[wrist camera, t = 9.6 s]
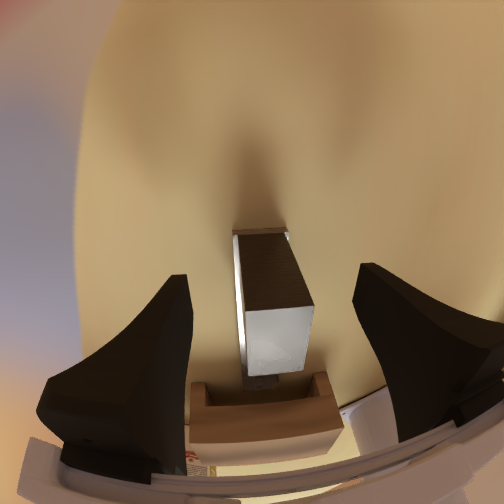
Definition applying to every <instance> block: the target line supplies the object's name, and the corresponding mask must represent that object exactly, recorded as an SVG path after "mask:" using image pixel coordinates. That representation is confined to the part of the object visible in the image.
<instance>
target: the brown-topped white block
mask: <svg viewBox="0 0 504 504" xmlns="http://www.w3.org/2000/svg"><path fill="white" fill-rule="evenodd" d="M232 231H233V249H234V266H235V282H236V298H237V313H238V327H239V341H240V354H241V367H242V380H243V391H251V390H263V389H273V388H278V378H279V373H287V372H295V371H303V368H304V363H305V358H306V353H307V348H308V342H309V336H310V331H311V325H312V319H313V313H314V306H315V305H314V303H313V300H312V298H311V295H310V293H309V290H308V288H307V286H306V283H305V281H304V278H303V276H302V273H301V271H300V269H299V266H298V264H297V261H296V259H295V257H294V254H293V252H292V250H291V247H290V245H289V243H288V238H289V232H288V230H287V227H282V228H262V229H243V230H232Z"/></svg>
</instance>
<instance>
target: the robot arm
mask: <svg viewBox="0 0 504 504" xmlns="http://www.w3.org/2000/svg"><path fill="white" fill-rule="evenodd" d="M352 302H353V305H354V308H355V312H356V314H357V317H358V320H359V322H360V324H361V326H362V328H363V330H364V332H365V334H366V336H367V338H368V340H369V342H370V344H371V346H372V348H373V350H374V352H375V354H376V356H377V358H378V360H379V363H380V365H381V367H382V370H383V373H384V376H385V380H386V383H387V386H386V387H384V388H383V389H381V390H379V391H377V392H375V393H373V394H371V395H369V396H367V397H365V398H363V399H361V400H359V401H357V402H355V403H353V404H350V405H348V406H346V407H344V408H341V409H340V410H339V412H340V415H341V416H342V417H343V418H344V419H345V420H346V421H347V422H348V423H349V424H350V425H351V427H352V430H353V433H354V436H355V439H356V443H357V446H358V449H359V452H360V456H359V457H355V458H352V459H348V460H344V461H340V462H336V463H331V464H327V465H322V466H317V467H312V468H307V469H301V470H294V471H287V472H280V473H271V474H261V475H248V476H224V477H204V476H188V475H187V464H186V450H185V421H184V404H185V382H186V374H187V368H188V361H189V355H190V349H191V342H192V336H193V308H192V303H191V297H190V292H189V286H188V280H187V274H181V275H171V276H170V277H169V279H168V280H167V281H166V282H165V283H164V285H163V286H162V287H161V289H160V290H159V291H158V292H157V294H156V295H155V296H154V297H153V298H152V300H151V301H150V302H149V303H148V304H147V306H146V307H145V308H144V309H143V310H142V311H141V312H140V313H139V314H138V316H137V317H136V318H135V319H134V320H133V321H132V322H131V323H130V324H129V325H128V326H127V327H126V328H125V329H124V330H123V331H121V332H120V333H119V334H118V335H117V336H116V337H115V338H113V339H112V340H111V341H109V342H108V343H107V344H106V345H104V346H103V347H102V348H100V349H99V350H98V351H96V352H95V353H93V354H92V355H90V356H89V357H87V358H86V359H84V360H83V361H81V362H80V363H78V364H76V365H74V366H73V367H71V368H69V369H67V370H65V371H63V372H61V373H59V374H57V375H55V376H53V377H51V378H49V379H48V381H47V383H46V386H45V388H44V390H43V393H42V395H41V398H40V401H39V403H38V406H37V409H36V413H37V415H38V417H39V419H40V420H41V422H43V424H44V425H45V426H46V427H47V428H49V429H50V430H51V431H52V432H53V433H54V434H55V435H56V436H58V437H59V438H60V439H61V440H62V441H64V444H63V448H62V449H61V448H60V447H57V446H56V445H53V444H50V443H48V442H45V441H42V440H39V439H36V438H34V437H30V439H29V443H28V446H27V450H26V453H25V457H24V461H23V465H22V469H21V474H20V478H19V483H18V488H17V493H18V495H20V496H22V497H23V498H26V499H27V500H29V501H31V502H33V503H35V504H241V501H240V500H238V499H223V498H250V497H263V496H273V495H281V494H288V493H295V492H301V491H307V490H312V489H317V488H322V487H327V486H331V485H335V484H339V483H343V482H347V481H350V480H354V479H358V478H361V477H363V478H364V480H361V481H360V483H358V484H355V485H351V486H348V487H345V488H341V489H337V490H333V491H329V492H326V493H322V494H318V495H313V496H309V497H304V498H299V499H294V500H289V501H283V502H277V503H271V504H468V501H467V498H466V495H465V492H464V490H463V487H464V486H466V485H467V484H469V483H470V482H471V481H472V480H473V478H474V476H475V473H476V472H477V471H479V470H480V469H481V468H483V467H484V466H485V465H487V464H488V463H489V462H490V461H492V460H493V459H494V458H495V457H496V456H498V455H499V454H500V453H501V452H502V451H503V450H504V382H503V380H502V379H503V378H504V372H503V371H502V369H503V368H504V323H499V322H494V321H490V320H486V319H482V318H479V317H476V316H473V315H470V314H467V313H465V312H462V311H459V310H457V309H455V308H452V307H450V306H448V305H446V304H444V303H442V302H440V301H438V300H436V299H434V298H432V297H430V296H428V295H427V294H425V293H423V292H421V291H420V290H418V289H416V288H415V287H413V286H411V285H410V284H408V283H407V282H405V281H403V280H402V279H400V278H399V277H397V276H395V275H394V274H392V273H391V272H389V271H387V270H386V269H384V268H382V267H381V266H379V265H377V264H375V263H361V264H360V269H359V273H358V278H357V282H356V287H355V291H354V295H353V299H352Z"/></svg>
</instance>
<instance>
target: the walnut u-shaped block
mask: <svg viewBox="0 0 504 504" xmlns="http://www.w3.org/2000/svg"><path fill="white" fill-rule="evenodd" d="M343 429H344V425H343V422H342V418H341V415H340V412H339V409H338V406H337V402H336V399H335V396H334V393H333V390H332V387H331V384H330V381H329V378H328V375H327V372H320V373H314V375H313V378H312V382H311V386H310V389H309V393H308V397H307V398H305V399H298V400H290V401H282V402H274V403H264V404H252V405H237V406H211V403H210V399H209V396H208V392H207V388H206V384H205V383H192V384H191V402H190V425H189V444H190V446H191V448H192V449H193V451H194V452H195V454H196V456H197V457H198V459H199V460H200V462H201V463H202V465H203V466H239V465H254V464H265V463H275V462H283V461H290V460H297V459H303V458H308V457H314V456H319V455H324V454H327V453H328V451H329V450H330V448H331V447H332V445H333V444H334V442H335V441H336V439H337V438H338V436H339V435H340V433H341V432H342V430H343Z"/></svg>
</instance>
